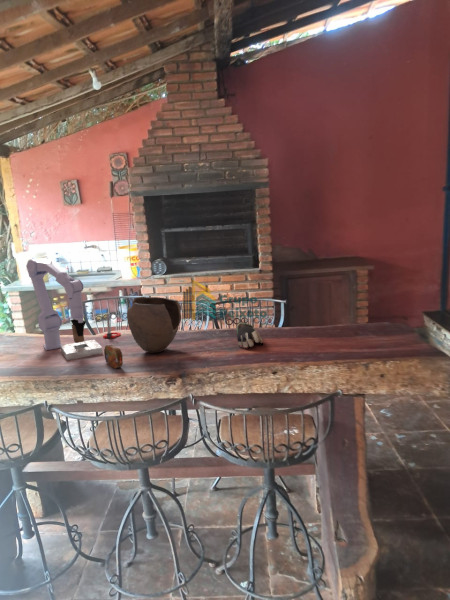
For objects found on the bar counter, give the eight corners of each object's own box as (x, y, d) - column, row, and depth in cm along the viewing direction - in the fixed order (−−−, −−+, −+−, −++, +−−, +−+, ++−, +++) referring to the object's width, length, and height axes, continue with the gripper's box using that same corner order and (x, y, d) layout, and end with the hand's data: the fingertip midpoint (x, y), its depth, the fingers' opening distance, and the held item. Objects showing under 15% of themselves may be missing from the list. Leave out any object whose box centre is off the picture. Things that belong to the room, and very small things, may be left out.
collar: (61, 351, 216) (60, 345, 215) (94, 345, 223) (94, 339, 222) (67, 360, 202) (66, 353, 201) (102, 353, 209) (102, 347, 209)
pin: (74, 341, 212) (71, 324, 210) (82, 339, 214) (80, 323, 212) (75, 343, 208) (73, 326, 207) (84, 341, 210) (82, 324, 208)
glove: (233, 341, 227) (238, 350, 202) (234, 321, 226) (238, 327, 201) (258, 341, 228) (265, 350, 203) (258, 322, 227) (266, 328, 202)
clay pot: (120, 353, 208) (115, 300, 203) (161, 341, 225) (157, 291, 220) (153, 363, 191) (148, 306, 187) (194, 349, 209) (190, 296, 204)
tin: (104, 362, 197) (102, 343, 195) (111, 360, 199) (109, 342, 197) (117, 371, 185) (115, 351, 183) (124, 369, 187) (123, 349, 185)
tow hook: (108, 334, 244) (101, 338, 235) (106, 310, 242) (99, 314, 233) (123, 334, 243) (116, 338, 234) (121, 310, 241) (114, 314, 232)
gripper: (64, 305, 212) (67, 333, 215) (70, 310, 200) (73, 339, 202) (79, 303, 216) (83, 330, 218) (86, 308, 203) (89, 337, 206)
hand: (79, 334), depth 211 cm, fingers closed on pin, 4 cm apart
